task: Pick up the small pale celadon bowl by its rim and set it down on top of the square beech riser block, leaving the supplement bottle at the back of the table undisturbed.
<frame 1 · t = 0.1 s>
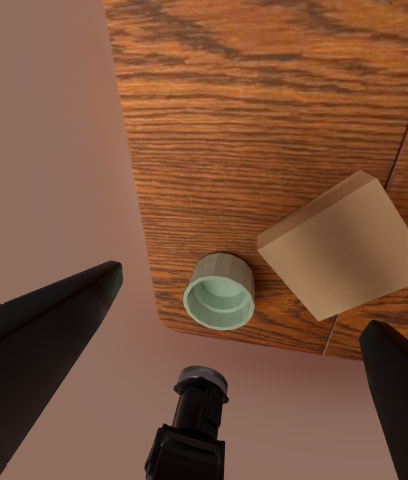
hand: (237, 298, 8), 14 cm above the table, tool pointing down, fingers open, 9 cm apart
riser: (331, 245, 22), on the table
bowl: (223, 276, 26), on the table
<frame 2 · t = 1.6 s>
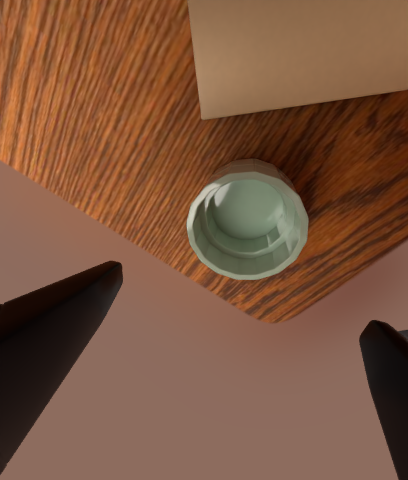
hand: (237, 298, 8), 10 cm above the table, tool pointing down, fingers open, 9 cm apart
bowl: (246, 205, 17), on the table
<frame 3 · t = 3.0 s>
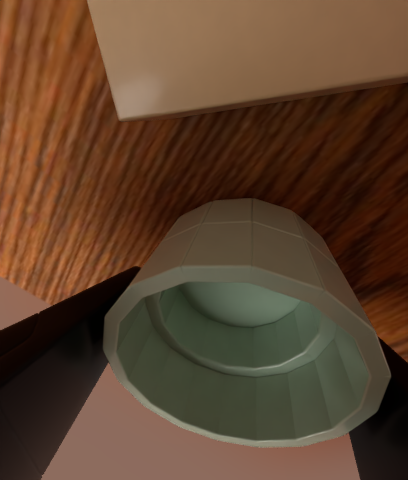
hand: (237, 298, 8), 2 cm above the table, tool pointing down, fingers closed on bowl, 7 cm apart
bowl: (238, 272, 10), on the table, touching gripper
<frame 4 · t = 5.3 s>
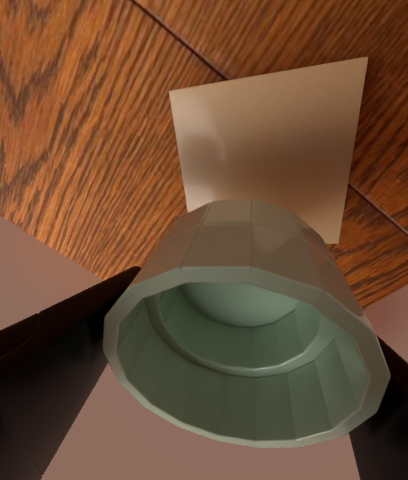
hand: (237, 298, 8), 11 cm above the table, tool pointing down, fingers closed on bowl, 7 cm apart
riser: (259, 164, 17), on the table
bowl: (238, 273, 10), point 10 cm above the table, touching gripper
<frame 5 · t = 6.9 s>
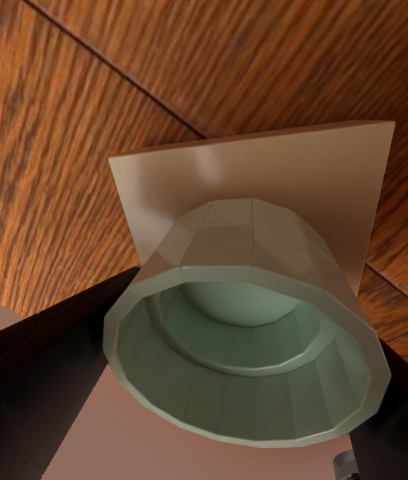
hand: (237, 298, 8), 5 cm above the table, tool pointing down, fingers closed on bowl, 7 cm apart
riser: (242, 231, 13), on the table
bowl: (238, 272, 10), point 4 cm above the table, touching gripper
when the fingers open (5 cm above the table, at t = 7.7 s): bowl stays where it is, resting on riser.
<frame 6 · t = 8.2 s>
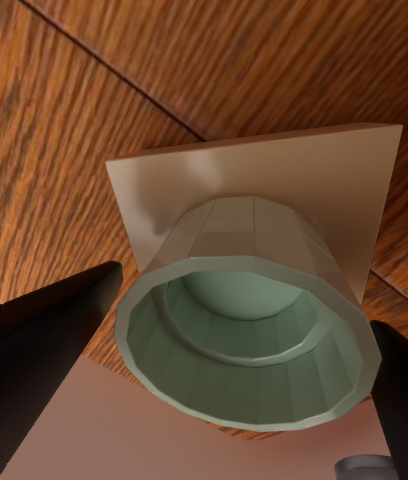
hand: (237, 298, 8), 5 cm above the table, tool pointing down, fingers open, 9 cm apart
riser: (243, 236, 13), on the table
bowl: (240, 268, 10), point 3 cm above the table, touching riser
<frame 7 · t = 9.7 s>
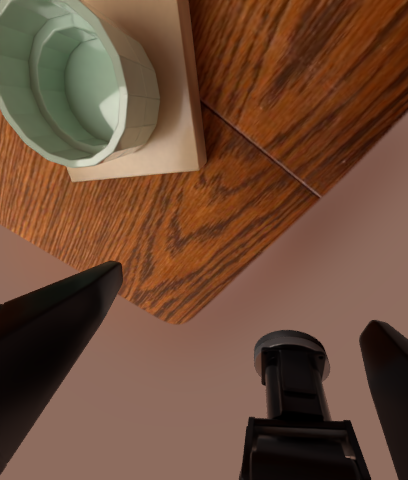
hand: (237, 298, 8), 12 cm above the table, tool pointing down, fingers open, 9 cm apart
riser: (131, 97, 17), on the table
bowl: (109, 95, 14), point 3 cm above the table, touching riser
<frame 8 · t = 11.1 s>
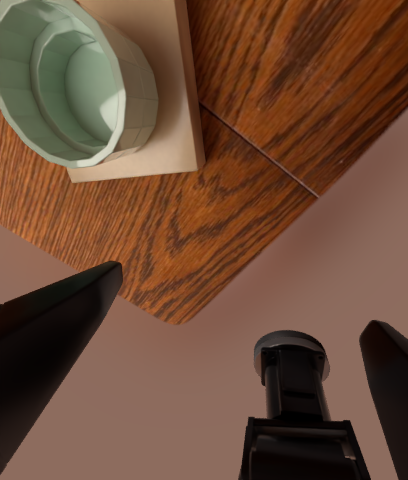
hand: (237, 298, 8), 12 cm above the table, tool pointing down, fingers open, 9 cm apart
riser: (131, 99, 17), on the table
bowl: (108, 97, 14), point 3 cm above the table, touching riser
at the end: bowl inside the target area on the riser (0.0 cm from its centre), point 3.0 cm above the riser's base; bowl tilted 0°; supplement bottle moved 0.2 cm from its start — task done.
